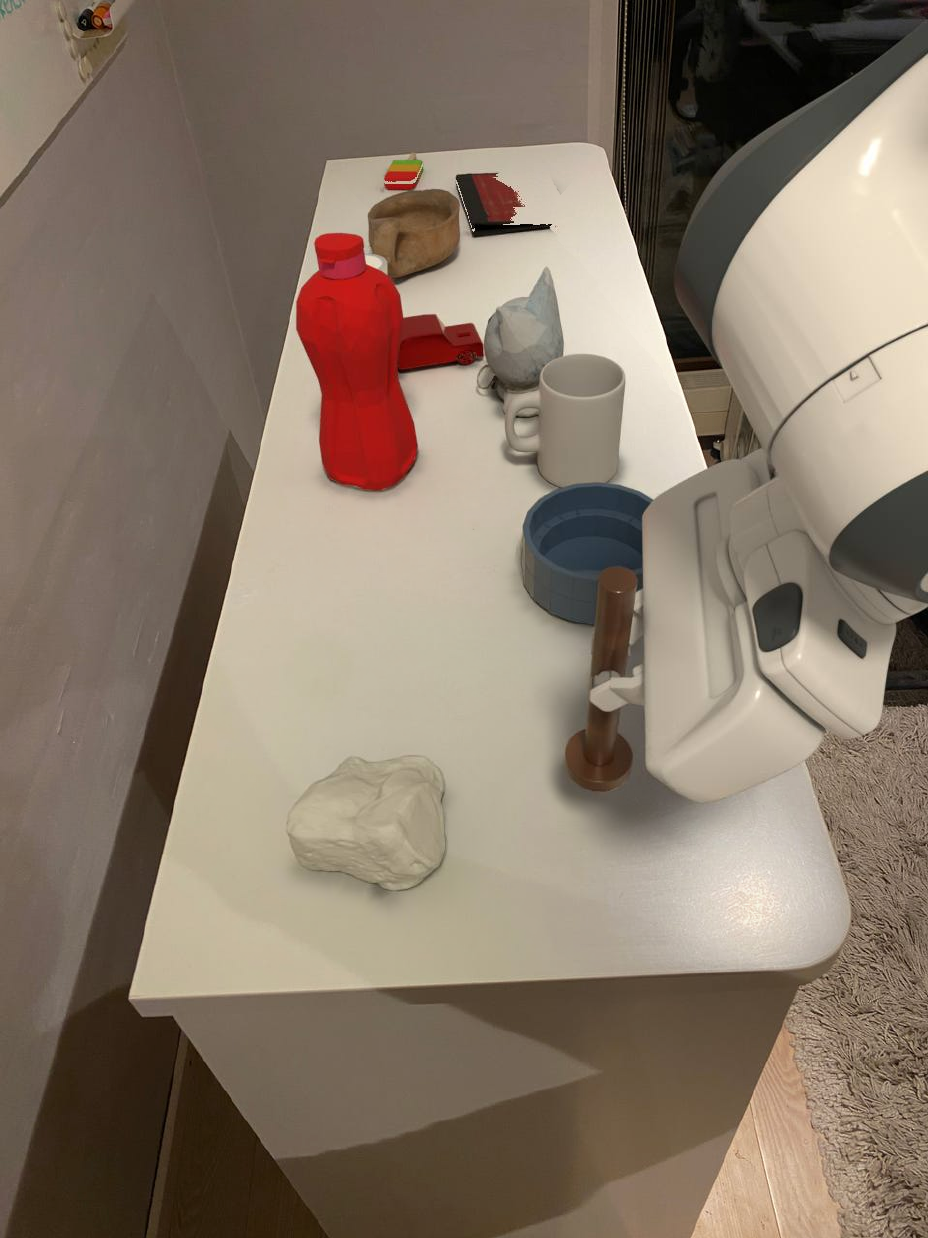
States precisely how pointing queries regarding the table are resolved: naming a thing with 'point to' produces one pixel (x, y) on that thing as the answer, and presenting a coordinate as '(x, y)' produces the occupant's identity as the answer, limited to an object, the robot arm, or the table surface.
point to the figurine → (523, 342)
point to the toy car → (437, 342)
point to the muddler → (599, 748)
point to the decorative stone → (373, 821)
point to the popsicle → (403, 173)
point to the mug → (574, 419)
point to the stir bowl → (581, 544)
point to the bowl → (414, 229)
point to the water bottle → (356, 365)
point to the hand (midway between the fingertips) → (597, 674)
